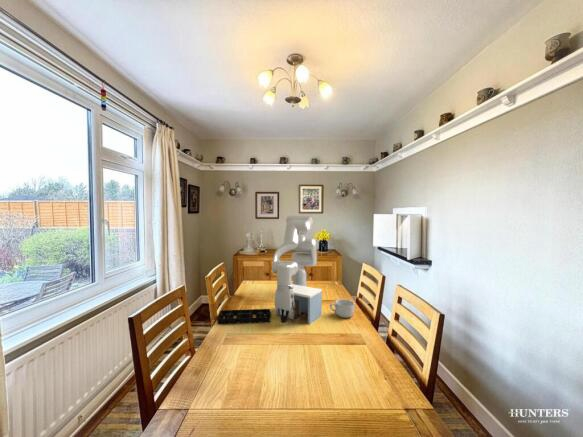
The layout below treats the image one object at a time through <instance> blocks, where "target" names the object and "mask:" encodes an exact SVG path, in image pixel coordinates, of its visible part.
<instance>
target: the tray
mask: <svg viewBox="0 0 583 437" xmlns="http://www.w3.org/2000/svg"><path fill="white" fill-rule="evenodd" d="M294 302H295V307H294V308H293V312H292V313H288V314H287V322H288V323H293V324H294V325H295V324H298V323H300V322H302V321H303V320H304V319H306V318H308V313H305V312H301V307H299V301H298V300H294Z"/></svg>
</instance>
